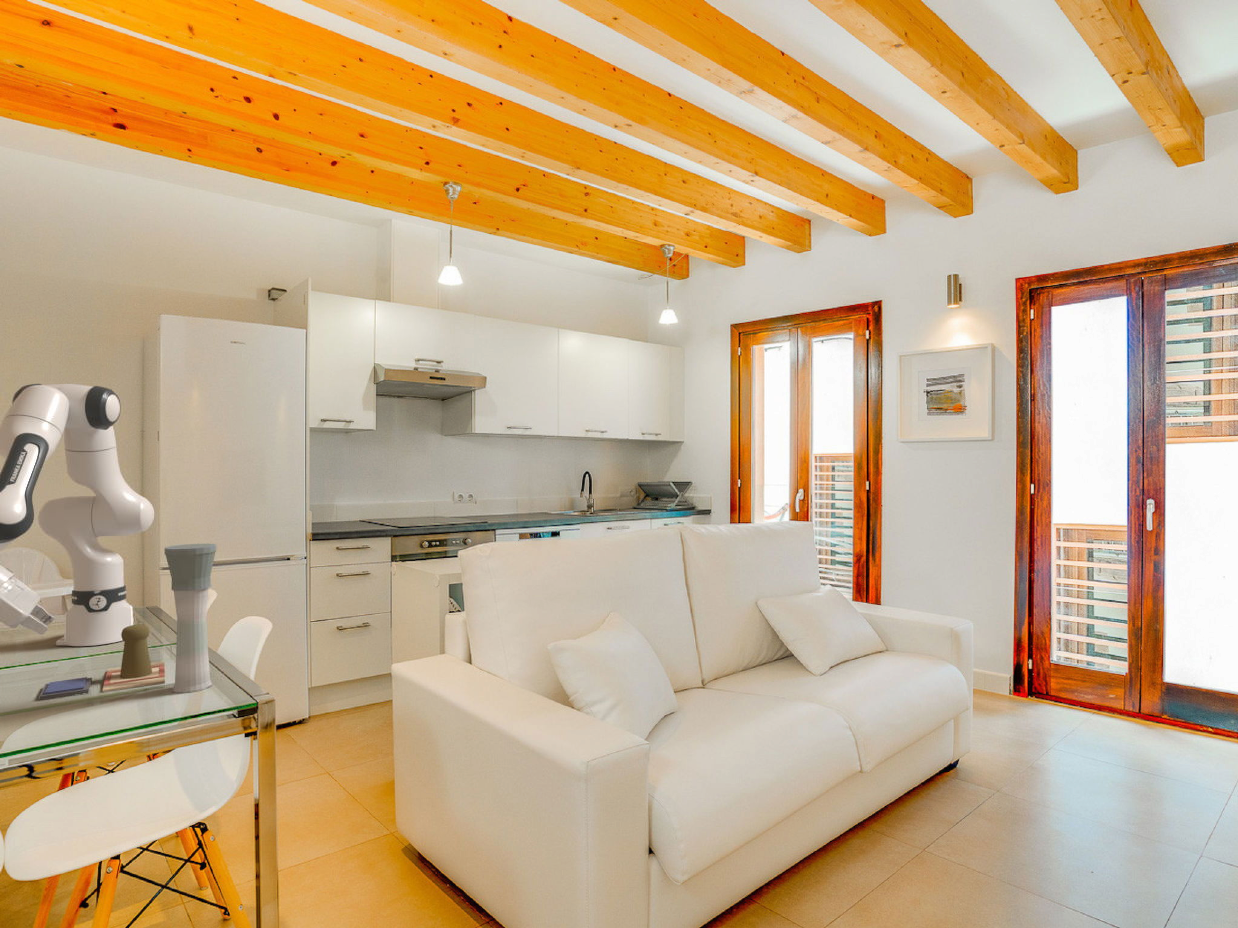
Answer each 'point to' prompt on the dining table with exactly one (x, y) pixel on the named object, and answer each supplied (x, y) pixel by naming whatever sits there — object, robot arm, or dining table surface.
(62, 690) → the ink pad
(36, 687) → the dining table surface
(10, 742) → the dining table surface
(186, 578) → the container
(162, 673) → the marked board
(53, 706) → the dining table surface
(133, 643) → the brown tapered round-topped piece
